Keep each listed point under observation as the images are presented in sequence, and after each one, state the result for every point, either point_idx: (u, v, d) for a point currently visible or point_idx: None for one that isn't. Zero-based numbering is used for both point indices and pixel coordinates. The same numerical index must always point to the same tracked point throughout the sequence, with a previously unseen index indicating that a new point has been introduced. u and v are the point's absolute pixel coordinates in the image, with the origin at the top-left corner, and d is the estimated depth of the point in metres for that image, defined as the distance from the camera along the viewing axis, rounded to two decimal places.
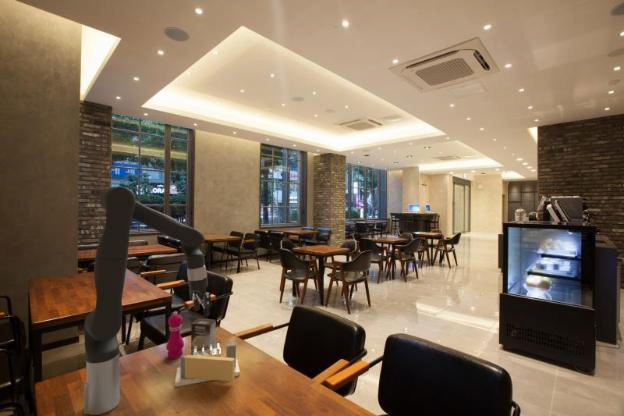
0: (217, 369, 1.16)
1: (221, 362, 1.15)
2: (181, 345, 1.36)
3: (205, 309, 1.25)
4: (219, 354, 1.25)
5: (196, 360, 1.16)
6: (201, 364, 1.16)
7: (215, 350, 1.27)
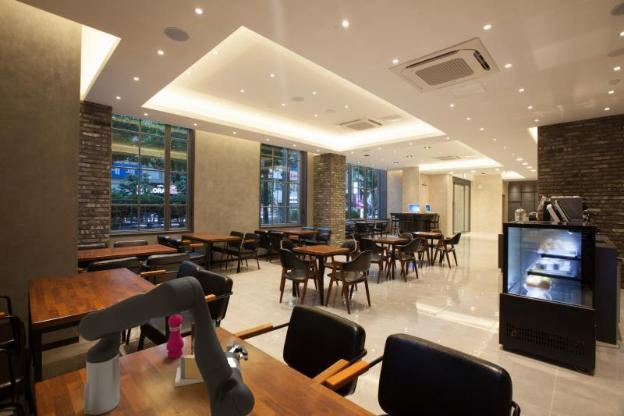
0: None
1: None
2: (181, 345, 1.36)
3: None
4: None
5: None
6: None
7: None
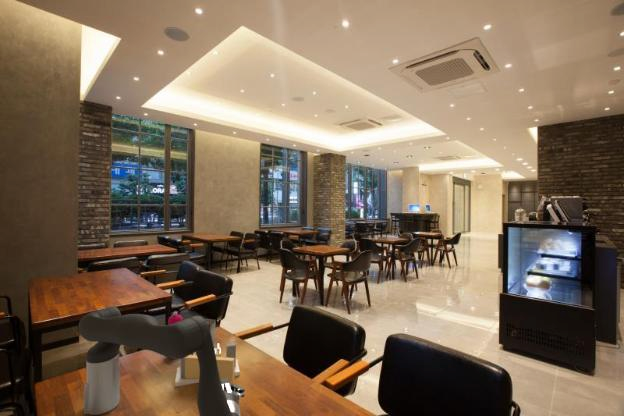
0: None
1: (221, 362, 1.15)
2: None
3: None
4: (219, 354, 1.25)
5: (196, 360, 1.16)
6: None
7: (215, 350, 1.27)
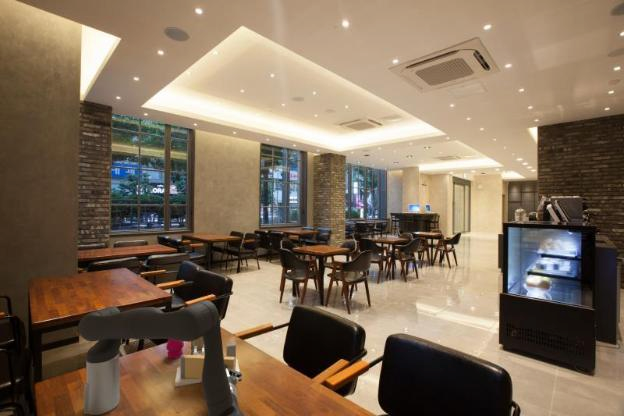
0: None
1: None
2: (181, 345, 1.36)
3: None
4: None
5: (196, 360, 1.17)
6: (202, 364, 1.17)
7: None
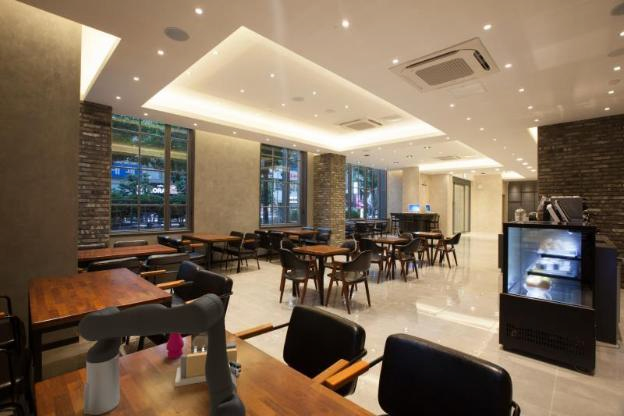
0: None
1: None
2: (181, 345, 1.36)
3: None
4: None
5: (199, 357, 1.19)
6: (204, 360, 1.19)
7: None
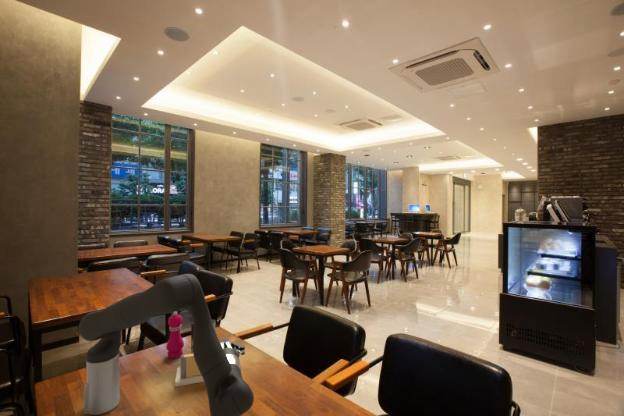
0: None
1: None
2: (181, 345, 1.36)
3: None
4: None
5: None
6: None
7: None
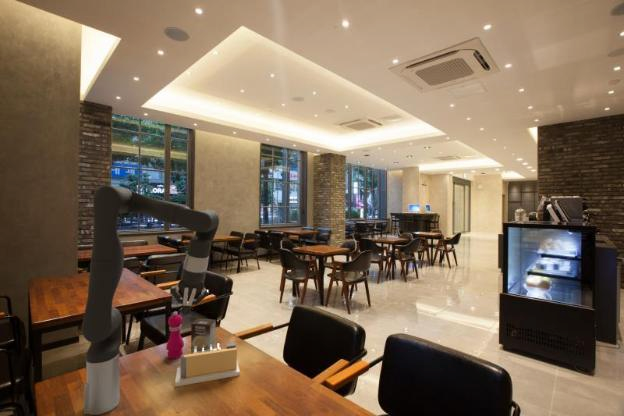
0: (221, 360, 1.22)
1: (225, 353, 1.22)
2: (181, 345, 1.36)
3: None
4: None
5: (199, 357, 1.19)
6: (205, 360, 1.20)
7: None
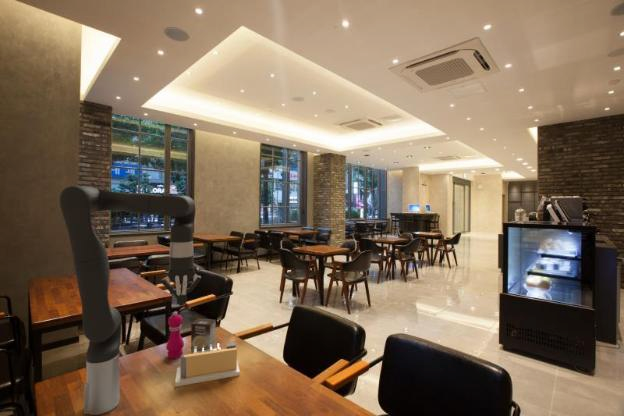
0: (221, 360, 1.22)
1: (225, 353, 1.22)
2: (181, 345, 1.36)
3: None
4: None
5: (199, 357, 1.19)
6: (205, 360, 1.20)
7: None
